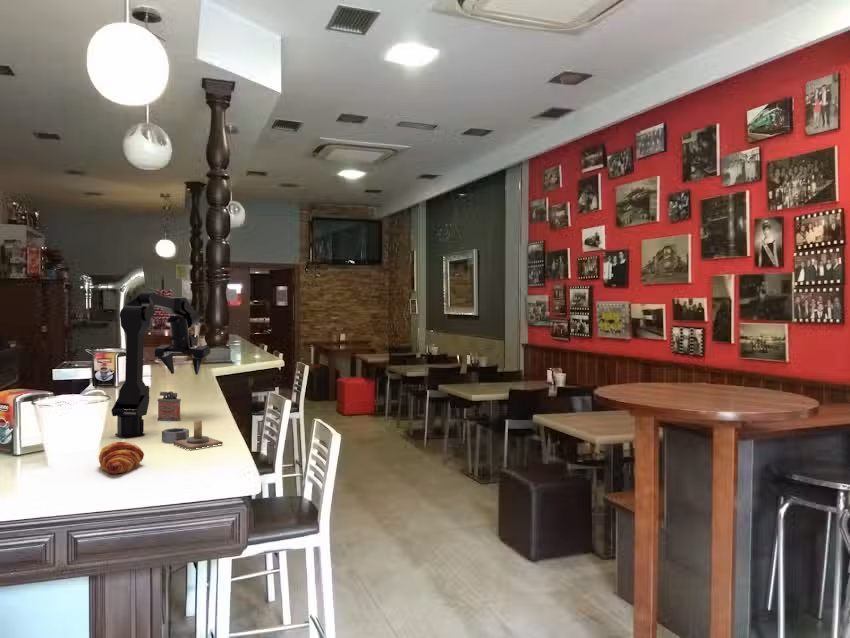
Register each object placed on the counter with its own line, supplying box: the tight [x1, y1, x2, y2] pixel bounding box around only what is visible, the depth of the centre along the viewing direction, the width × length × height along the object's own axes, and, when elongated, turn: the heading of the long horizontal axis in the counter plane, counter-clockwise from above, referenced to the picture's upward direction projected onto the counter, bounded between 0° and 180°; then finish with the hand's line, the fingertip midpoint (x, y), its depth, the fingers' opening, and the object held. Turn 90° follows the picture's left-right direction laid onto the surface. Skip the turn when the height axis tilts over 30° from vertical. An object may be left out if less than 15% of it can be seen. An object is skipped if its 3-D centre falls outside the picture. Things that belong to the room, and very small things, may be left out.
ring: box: [161, 427, 190, 444], centre depth 190 cm, size 7×7×3 cm
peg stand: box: [172, 419, 224, 451], centre depth 185 cm, size 10×10×7 cm
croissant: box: [98, 441, 145, 475], centre depth 160 cm, size 21×10×8 cm, turn 21°
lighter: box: [157, 390, 182, 422], centre depth 223 cm, size 8×3×10 cm, turn 84°
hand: (184, 374), depth 230 cm, fingers open, 9 cm apart
